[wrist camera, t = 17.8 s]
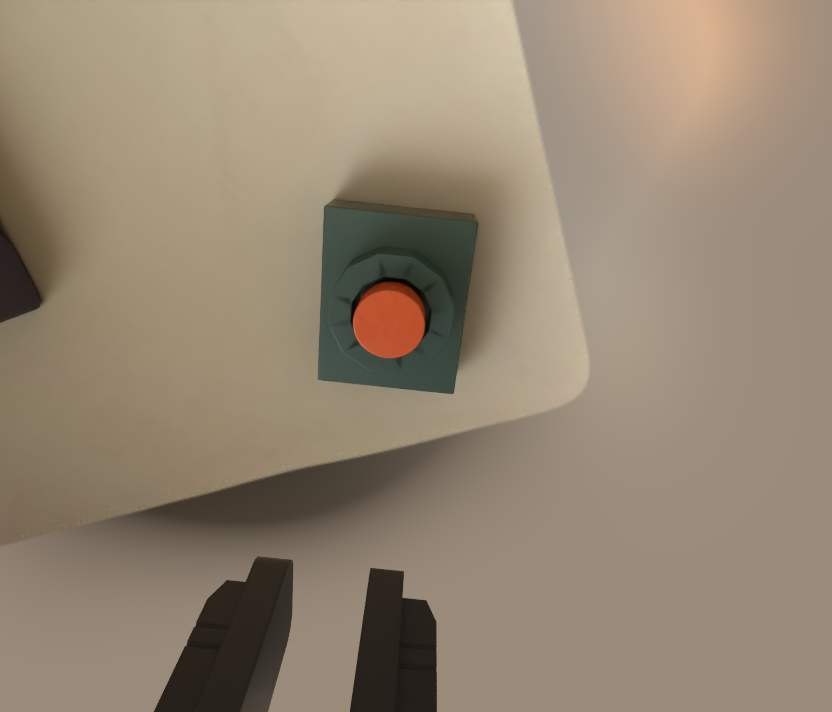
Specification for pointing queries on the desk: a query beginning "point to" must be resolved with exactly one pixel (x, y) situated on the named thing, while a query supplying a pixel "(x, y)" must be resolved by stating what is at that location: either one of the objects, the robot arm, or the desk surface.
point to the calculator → (14, 284)
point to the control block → (397, 262)
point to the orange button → (389, 320)
